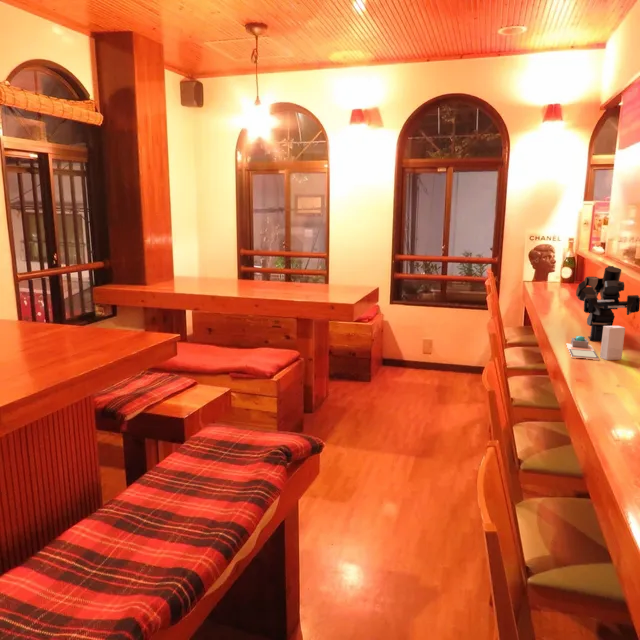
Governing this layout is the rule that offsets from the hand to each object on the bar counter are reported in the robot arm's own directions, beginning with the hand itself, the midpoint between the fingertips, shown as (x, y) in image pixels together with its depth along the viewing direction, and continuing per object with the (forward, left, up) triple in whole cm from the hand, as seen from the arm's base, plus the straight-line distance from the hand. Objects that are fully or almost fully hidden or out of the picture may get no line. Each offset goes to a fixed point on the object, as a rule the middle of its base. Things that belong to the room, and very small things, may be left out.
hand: (613, 313), depth 201 cm
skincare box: (+5, 0, -16) cm, 17 cm away
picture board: (-1, -9, -16) cm, 18 cm away
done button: (-8, -9, -14) cm, 18 cm away
